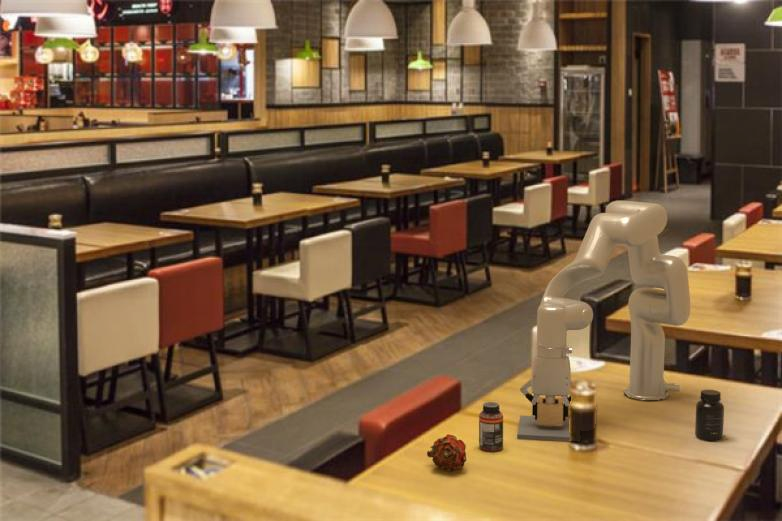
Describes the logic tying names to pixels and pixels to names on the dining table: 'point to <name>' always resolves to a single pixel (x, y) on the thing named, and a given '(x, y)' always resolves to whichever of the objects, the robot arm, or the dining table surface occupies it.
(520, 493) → the dining table surface
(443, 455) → the dragon fruit
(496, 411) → the supplement bottle
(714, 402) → the supplement bottle
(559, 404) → the collar
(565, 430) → the shaft block
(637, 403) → the dining table surface
